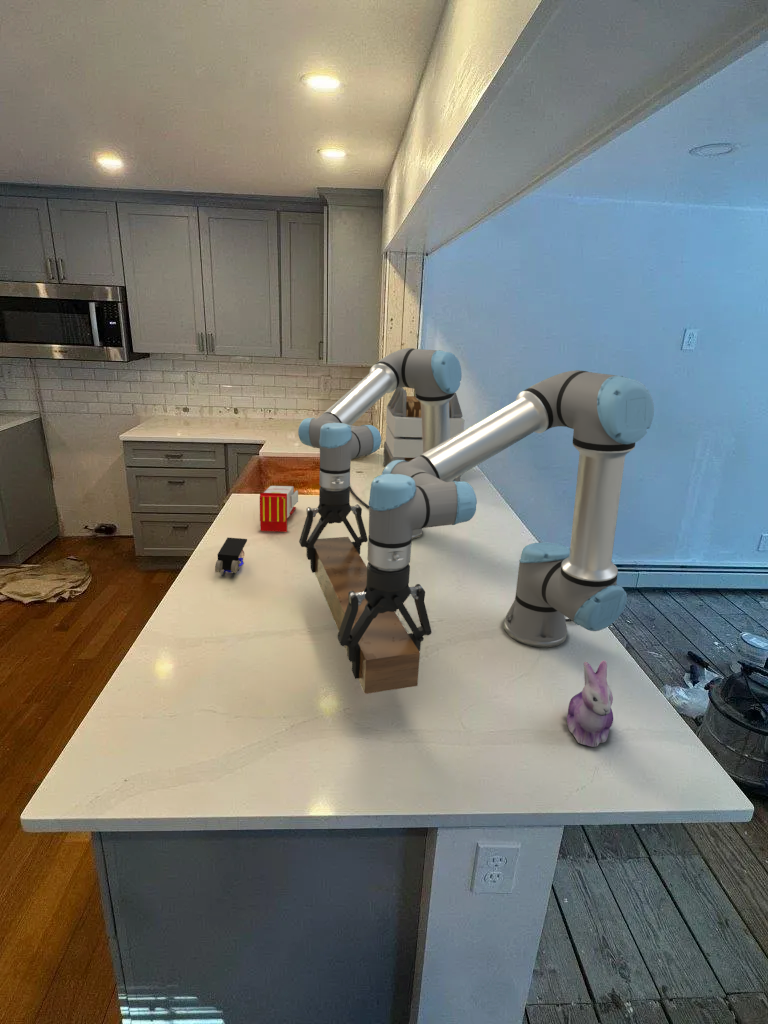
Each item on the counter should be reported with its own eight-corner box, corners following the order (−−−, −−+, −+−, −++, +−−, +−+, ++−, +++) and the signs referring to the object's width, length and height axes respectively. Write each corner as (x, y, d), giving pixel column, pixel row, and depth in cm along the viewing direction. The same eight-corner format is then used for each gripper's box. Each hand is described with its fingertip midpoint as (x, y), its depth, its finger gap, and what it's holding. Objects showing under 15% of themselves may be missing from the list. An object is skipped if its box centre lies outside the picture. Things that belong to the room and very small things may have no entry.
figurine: (591, 756, 102) (606, 687, 97) (551, 721, 111) (563, 655, 106) (628, 741, 107) (644, 673, 101) (587, 708, 115) (599, 644, 110)
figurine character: (238, 584, 162) (249, 557, 175) (236, 562, 158) (247, 536, 172) (215, 584, 161) (227, 556, 175) (212, 561, 158) (225, 535, 171)
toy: (300, 481, 221) (289, 494, 192) (300, 514, 224) (289, 533, 194) (268, 480, 221) (253, 493, 191) (269, 514, 223) (254, 532, 194)
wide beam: (311, 563, 151) (311, 539, 148) (347, 560, 154) (348, 536, 151) (364, 694, 101) (365, 660, 98) (417, 686, 103) (420, 652, 101)
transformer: (382, 463, 289) (386, 382, 275) (445, 464, 293) (451, 384, 279) (390, 482, 257) (394, 392, 243) (460, 483, 261) (468, 394, 247)
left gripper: (291, 493, 133) (291, 578, 141) (382, 489, 140) (379, 570, 147) (286, 484, 140) (287, 566, 147) (374, 480, 146) (371, 558, 154)
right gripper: (329, 578, 92) (327, 691, 100) (456, 566, 99) (446, 673, 106) (320, 559, 99) (319, 666, 107) (440, 549, 106) (432, 651, 113)
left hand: (333, 568), depth 147 cm, fingers closed on wide beam, 10 cm apart
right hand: (383, 670), depth 106 cm, fingers closed on wide beam, 10 cm apart
